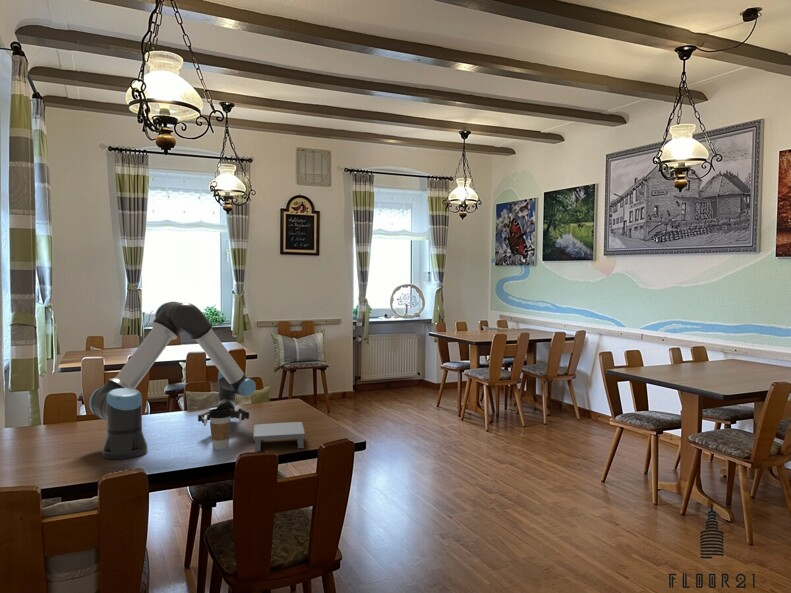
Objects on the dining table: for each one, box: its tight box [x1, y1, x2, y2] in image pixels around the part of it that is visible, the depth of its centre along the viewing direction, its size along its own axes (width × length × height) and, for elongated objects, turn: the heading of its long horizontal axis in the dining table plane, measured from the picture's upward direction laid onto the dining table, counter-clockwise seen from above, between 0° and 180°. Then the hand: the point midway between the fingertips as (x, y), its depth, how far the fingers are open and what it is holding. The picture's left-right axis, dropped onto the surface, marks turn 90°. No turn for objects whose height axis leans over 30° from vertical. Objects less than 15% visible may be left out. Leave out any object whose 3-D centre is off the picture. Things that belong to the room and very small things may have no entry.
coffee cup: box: [209, 407, 232, 451], centre depth 222 cm, size 8×8×15 cm
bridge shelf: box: [253, 421, 306, 453], centre depth 227 cm, size 19×18×6 cm
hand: (222, 421), depth 230 cm, fingers open, 13 cm apart
